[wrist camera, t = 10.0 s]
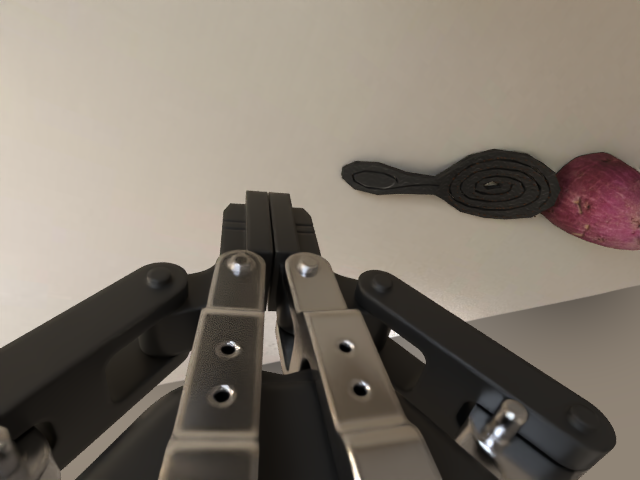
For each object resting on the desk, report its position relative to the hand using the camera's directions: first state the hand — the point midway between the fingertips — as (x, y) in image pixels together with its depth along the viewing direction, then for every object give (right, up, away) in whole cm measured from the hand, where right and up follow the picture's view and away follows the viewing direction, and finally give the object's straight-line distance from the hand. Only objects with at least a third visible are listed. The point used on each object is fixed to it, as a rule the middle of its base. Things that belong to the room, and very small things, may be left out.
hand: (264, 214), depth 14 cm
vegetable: (+34, +5, +34) cm, 49 cm away
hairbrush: (+16, +6, +30) cm, 35 cm away
